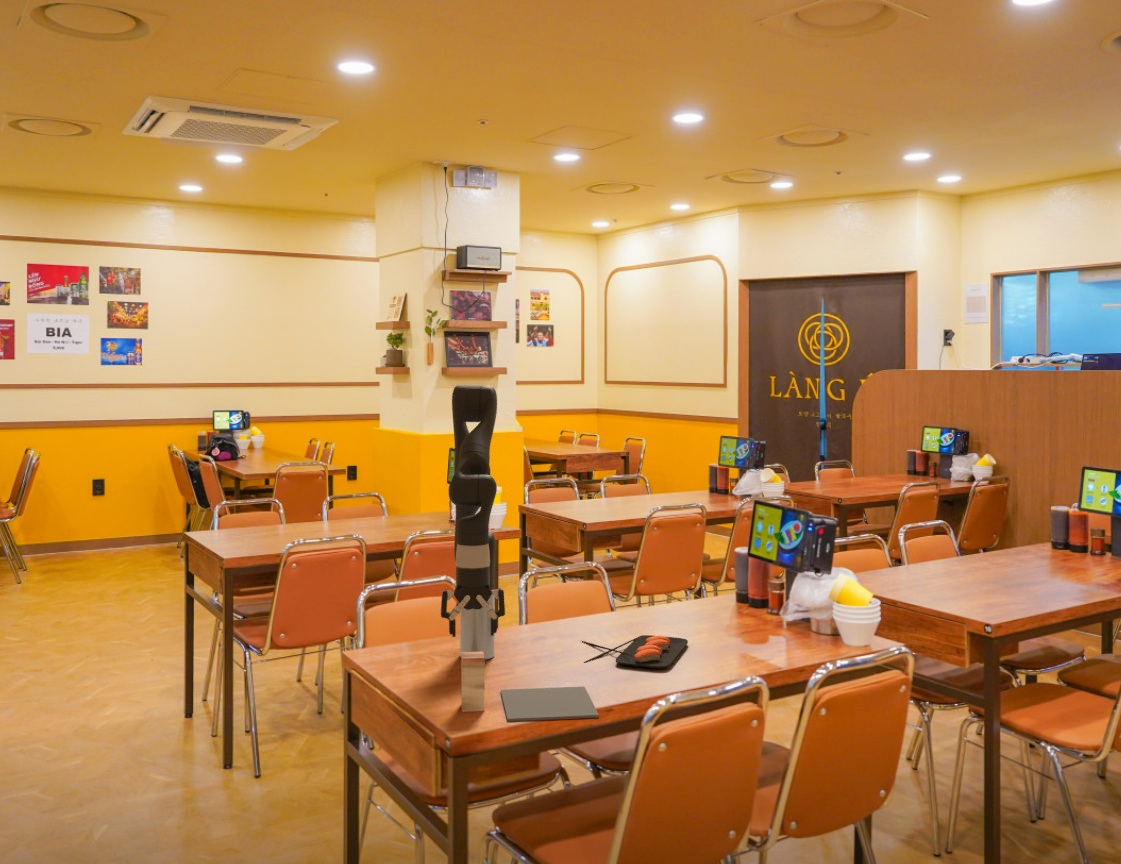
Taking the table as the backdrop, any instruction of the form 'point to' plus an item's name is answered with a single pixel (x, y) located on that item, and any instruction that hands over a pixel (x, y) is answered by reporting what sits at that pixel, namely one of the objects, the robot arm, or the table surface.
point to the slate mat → (548, 704)
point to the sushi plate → (648, 651)
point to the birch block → (472, 681)
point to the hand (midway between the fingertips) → (472, 635)
